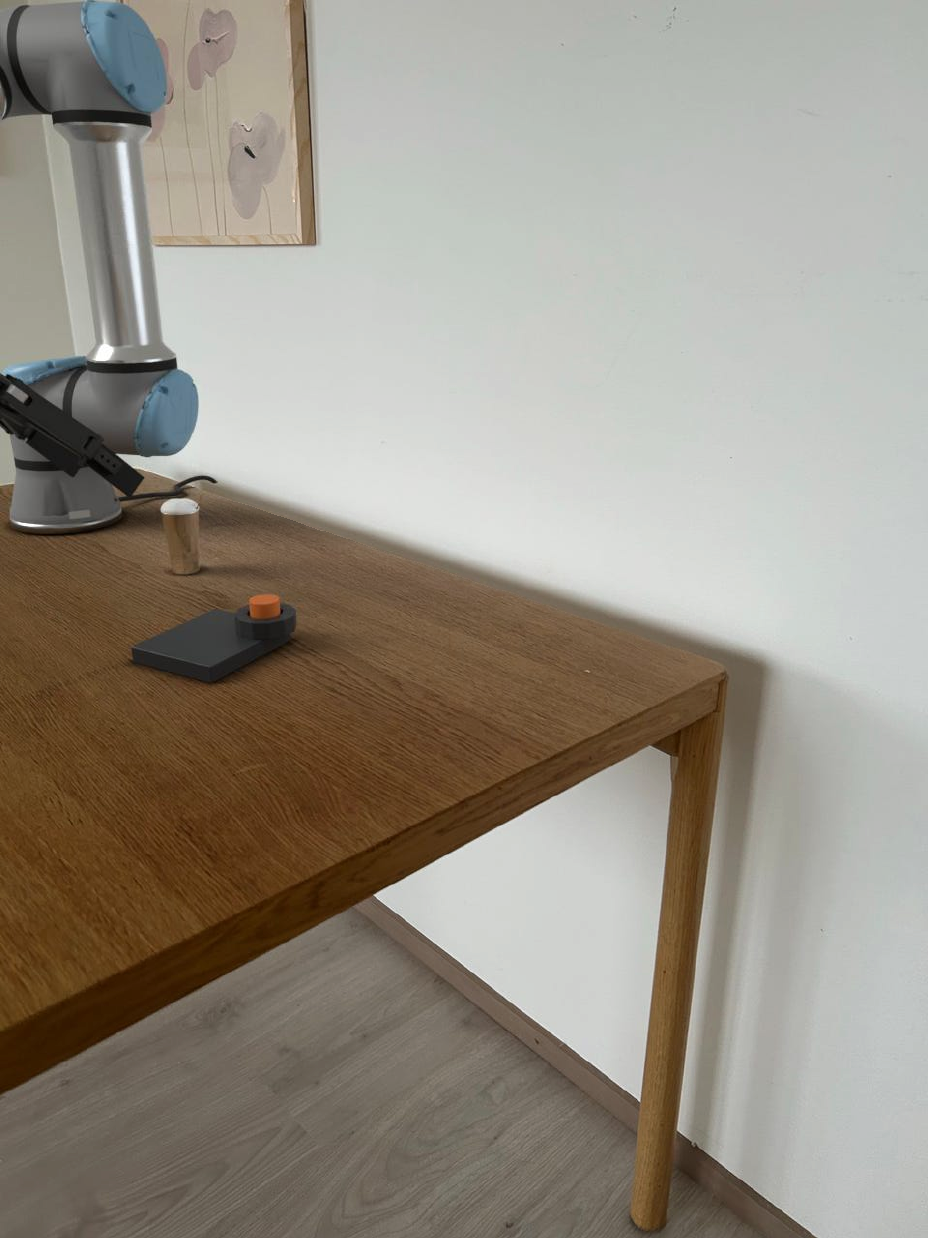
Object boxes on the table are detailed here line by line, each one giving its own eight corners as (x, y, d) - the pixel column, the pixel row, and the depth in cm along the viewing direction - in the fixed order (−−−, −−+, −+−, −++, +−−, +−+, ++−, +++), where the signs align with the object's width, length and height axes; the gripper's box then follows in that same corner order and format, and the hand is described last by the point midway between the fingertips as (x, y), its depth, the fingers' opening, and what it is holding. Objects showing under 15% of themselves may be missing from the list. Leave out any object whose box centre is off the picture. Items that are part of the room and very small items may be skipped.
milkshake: (201, 578, 117) (193, 498, 113) (161, 575, 118) (151, 495, 114) (217, 566, 121) (210, 489, 117) (178, 564, 122) (170, 487, 118)
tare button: (263, 608, 98) (262, 592, 97) (286, 613, 97) (285, 597, 96) (244, 617, 96) (242, 601, 95) (267, 622, 94) (266, 606, 94)
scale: (222, 620, 103) (220, 589, 102) (308, 639, 98) (306, 608, 97) (132, 662, 93) (128, 629, 92) (223, 686, 88) (220, 651, 87)
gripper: (-126, 367, 100) (39, 485, 115) (-35, 391, 84) (142, 525, 99) (-81, 312, 101) (75, 436, 117) (16, 325, 85) (183, 467, 101)
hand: (106, 477), depth 108 cm, fingers open, 13 cm apart
